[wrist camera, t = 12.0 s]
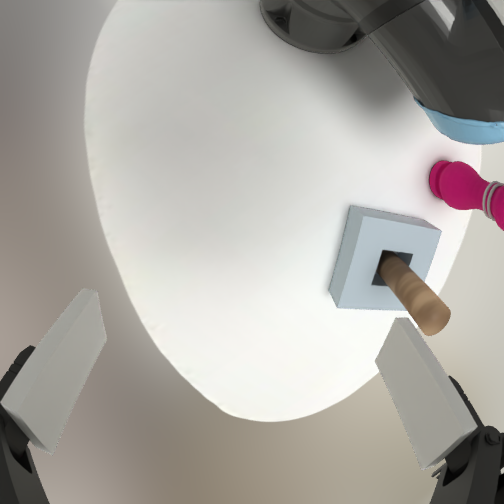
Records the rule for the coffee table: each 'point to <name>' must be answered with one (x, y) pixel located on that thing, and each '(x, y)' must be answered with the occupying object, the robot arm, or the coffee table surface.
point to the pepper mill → (467, 190)
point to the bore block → (369, 251)
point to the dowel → (413, 293)
